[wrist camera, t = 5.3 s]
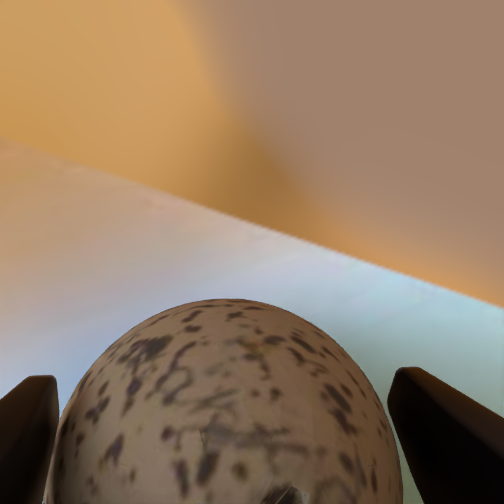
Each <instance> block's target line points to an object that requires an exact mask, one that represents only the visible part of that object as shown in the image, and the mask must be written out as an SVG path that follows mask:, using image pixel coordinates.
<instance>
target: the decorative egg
mask: <svg viewBox="0 0 504 504" xmlns="http://www.w3.org/2000/svg"><path fill="white" fill-rule="evenodd" d="M44 504H403V483H402V475H401V468H400V460H399V455H398V451H397V446H396V442H395V438H394V435H393V432H392V428H391V426H390V423H389V421H388V418H387V416H386V413H385V411H384V408H383V406H382V403H381V401H380V399H379V398H378V396H377V394H376V392H375V390H374V389H373V387H372V385H371V384H370V382H369V380H368V379H367V377H366V376H365V374H364V373H363V371H362V370H361V369H360V367H359V366H358V365H357V364H356V363H355V362H354V361H353V359H352V358H351V357H350V356H349V355H348V354H347V352H346V351H345V350H344V349H343V348H342V347H341V346H340V345H339V344H338V343H337V342H336V341H334V340H333V339H332V338H331V337H330V336H329V335H327V334H326V333H325V332H323V331H322V330H321V329H319V328H318V327H316V326H315V325H313V324H312V323H310V322H308V321H306V320H304V319H303V318H301V317H299V316H297V315H295V314H293V313H291V312H289V311H287V310H284V309H282V308H279V307H276V306H272V305H269V304H265V303H262V302H257V301H251V300H245V299H211V300H203V301H197V302H191V303H187V304H183V305H180V306H177V307H174V308H171V309H168V310H165V311H163V312H161V313H159V314H156V315H154V316H152V317H150V318H148V319H147V320H145V321H143V322H142V323H140V324H138V325H137V326H135V327H133V328H132V329H131V330H129V331H128V332H127V333H126V334H124V335H123V336H122V337H121V338H119V339H118V340H117V341H115V342H114V343H113V344H112V345H111V346H110V347H109V348H108V349H107V350H106V351H105V352H104V353H103V354H102V355H101V356H100V357H99V358H98V359H97V360H96V362H95V363H94V364H93V365H92V366H91V367H90V369H89V370H88V371H87V372H86V374H85V375H84V376H83V378H82V379H81V380H80V382H79V384H78V385H77V387H76V389H75V390H74V392H73V394H72V396H71V398H70V399H69V401H68V403H67V405H66V407H65V408H64V410H63V413H62V416H61V418H60V421H59V424H58V429H57V434H56V439H55V443H54V448H53V453H52V458H51V463H50V467H49V472H48V477H47V482H46V486H45V491H44Z"/></svg>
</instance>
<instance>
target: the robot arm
mask: <svg viewBox="0 0 504 504" xmlns="http://www.w3.org/2000/svg"><path fill="white" fill-rule="evenodd" d="M387 406H388V410H389V414H390V416H391V419H392V422H393V425H394V427H395V430H396V433H397V436H398V439H399V441H400V444H401V447H402V450H403V452H404V455H405V458H406V461H407V464H408V466H409V469H410V472H411V474H412V477H413V479H414V482H415V484H416V487H417V489H418V491H419V493H420V496H421V498H422V500H423V502H424V504H504V418H503V417H501V416H499V415H498V414H496V413H494V412H493V411H491V410H489V409H488V408H486V407H484V406H483V405H481V404H479V403H478V402H476V401H474V400H473V399H471V398H470V397H468V396H466V395H465V394H463V393H461V392H460V391H458V390H456V389H455V388H453V387H451V386H450V385H448V384H446V383H445V382H443V381H441V380H440V379H438V378H436V377H435V376H433V375H431V374H430V373H428V372H426V371H425V370H423V369H421V368H419V367H401V368H399V369H398V370H397V371H396V373H395V376H394V379H393V382H392V385H391V388H390V392H389V395H388V399H387ZM58 424H59V401H58V391H57V381H56V378H55V377H54V376H52V375H35V376H29V377H27V378H26V379H24V380H23V381H22V382H21V383H20V384H18V385H17V386H16V387H15V388H14V389H12V390H11V391H10V392H9V393H8V394H6V395H5V396H4V397H3V398H2V399H0V504H42V501H43V496H44V491H45V486H46V482H47V477H48V472H49V467H50V463H51V458H52V453H53V448H54V443H55V439H56V434H57V429H58Z"/></svg>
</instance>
